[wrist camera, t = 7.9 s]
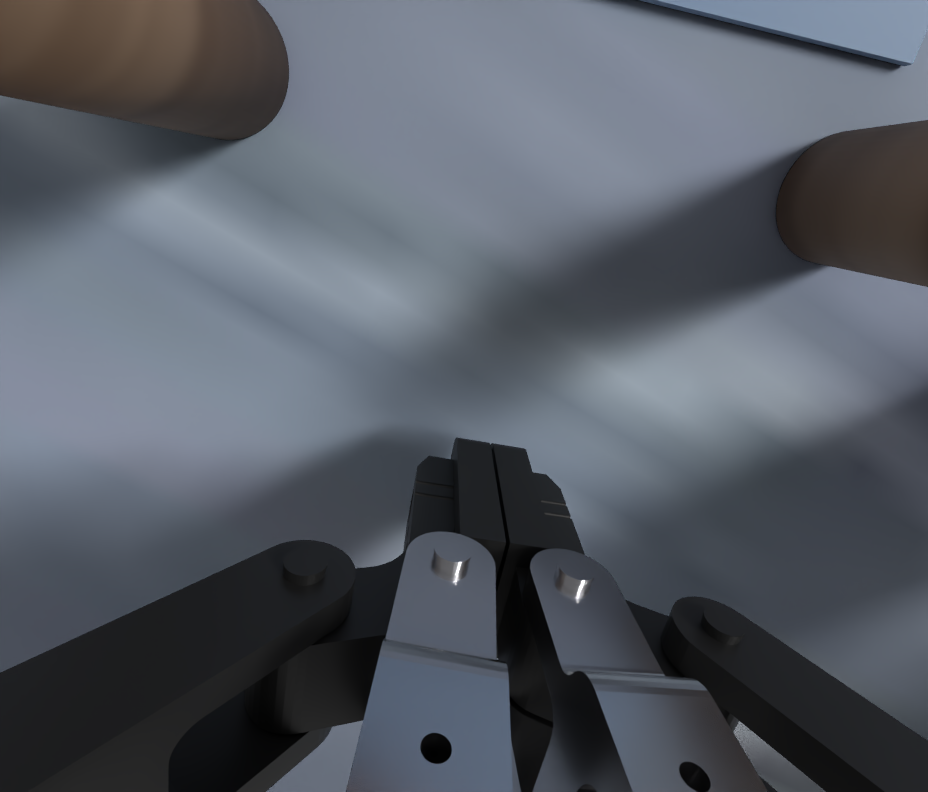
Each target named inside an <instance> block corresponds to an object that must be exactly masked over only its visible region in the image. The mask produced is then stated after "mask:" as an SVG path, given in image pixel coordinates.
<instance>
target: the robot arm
mask: <svg viewBox="0 0 928 792" xmlns="http://www.w3.org/2000/svg"><path fill="white" fill-rule="evenodd" d="M497 658H498V659H499V660H497ZM361 720H363V724H362V728H361V732H360V736H359V740H358V744H357V749H356V753H355V757H354V761H353V765H352V769H351V773H350V777H349V781H348V785H347V790H346V792H777V791H776V790H775V789H774V788H772V787H771V786H770V785H769V784H768V783H767V782H766V781H764V780H763V779H762V778H761V777H760V776H759V775H758V774H757V772H756V770H755V769H754V767H753V765H752V764H751V762H750V760H749V759H748V757H747V755H746V753H745V752H744V750H743V748H742V747H741V745H740V743H739V742H738V740H737V738H736V737H735V735H734V733H733V731H734V729H735V727H736V725H737V724H738V722H739V721H740V722H742V723H743V724H744V725H745V726H747V727H748V728H749V729H750V730H751V731H753V732H754V733H755V734H756V735H758V736H759V737H760V738H761V739H762V740H764V741H765V742H766V743H767V744H769V745H770V746H771V747H772V748H774V749H775V750H776V751H777V752H778V753H780V754H781V755H782V756H783V757H785V758H786V759H787V760H788V761H789V762H791V763H792V764H793V765H794V766H796V767H797V768H798V769H799V770H800V771H802V772H803V773H804V774H805V775H807V776H808V777H809V778H810V779H811V780H813V781H814V782H815V783H816V784H818V785H819V786H820V787H821V788H823V789H824V790H825V791H826V792H928V741H927V740H926V739H924V738H923V737H921V736H920V735H918V734H917V733H915V732H914V731H912V730H911V729H909V728H908V727H906V726H905V725H903V724H902V723H901V722H899V721H898V720H896V719H895V718H893V717H892V716H890V715H889V714H887V713H886V712H884V711H883V710H881V709H880V708H878V707H877V706H875V705H874V704H873V703H871V702H870V701H868V700H867V699H865V698H864V697H862V696H861V695H859V694H858V693H856V692H855V691H853V690H852V689H850V688H849V687H847V686H846V685H844V684H843V683H842V682H840V681H839V680H837V679H836V678H834V677H833V676H831V675H830V674H828V673H827V672H825V671H824V670H822V669H821V668H819V667H818V666H816V665H815V664H814V663H812V662H811V661H809V660H808V659H806V658H805V657H803V656H802V655H800V654H799V653H797V652H796V651H794V650H793V649H791V648H790V647H788V646H787V645H786V644H784V643H783V642H781V641H780V640H778V639H777V638H775V637H774V636H772V635H771V634H769V633H768V632H766V631H765V630H763V629H762V628H760V627H759V626H758V625H756V624H755V623H753V622H752V621H750V620H749V619H747V618H746V617H744V616H743V615H741V614H740V613H738V612H737V611H735V610H733V609H732V608H730V607H728V606H726V605H724V604H721V603H719V602H717V601H713V600H710V599H707V598H702V597H685V598H682V599H679V600H678V601H677V602H675V604H674V606H673V608H672V610H671V612H670V615H669V617H668V616H666V615H663V614H660V613H658V612H655V611H652V610H649V609H647V608H644V607H641V606H639V605H636V604H634V603H631V602H629V601H627V600H625V599H624V597H623V595H622V593H621V591H620V589H619V587H618V585H617V583H616V581H615V580H614V578H613V577H612V575H611V574H610V573H609V572H608V570H607V569H605V568H604V567H603V566H602V565H601V564H599V563H598V562H597V561H595V560H593V559H592V558H590V557H588V556H586V555H585V554H584V551H583V549H582V546H581V543H580V540H579V538H578V535H577V532H576V530H575V527H574V524H573V521H572V519H570V513H569V511H568V508H567V506H566V502H565V500H564V497H563V494H562V492H561V489H560V488H559V487H558V486H557V485H556V484H555V483H554V482H553V481H552V480H551V479H550V478H549V477H548V476H547V475H546V474H539V473H533V472H532V469H531V465H530V462H529V459H528V455H527V452H526V449H524V448H518V447H512V446H506V445H500V444H493V443H492V444H491V445H490V443H487V442H481V441H475V440H469V439H462V438H456V439H455V442H454V446H453V450H452V455H451V459H445V458H439V457H433V456H428V457H427V458H426V459H425V460H424V461H423V462H422V463H421V464H420V465H419V466H418V467H417V473H416V478H415V483H414V489H413V494H412V500H411V505H410V510H409V516H408V521H407V527H406V534H405V542H404V551H403V554H401V555H400V556H399V557H398V558H396V559H394V560H393V561H391V562H388V563H386V564H383V565H379V566H374V567H367V568H356V569H355V566H354V564H353V562H352V560H351V559H350V557H349V556H348V555H347V554H346V553H344V552H343V551H342V550H340V549H339V548H337V547H335V546H332V545H330V544H327V543H324V542H319V541H311V540H297V541H290V542H286V543H282V544H279V545H277V546H274V547H272V548H270V549H267V550H265V551H263V552H261V553H259V554H257V555H254V556H252V557H250V558H248V559H246V560H244V561H241V562H239V563H237V564H235V565H233V566H231V567H228V568H226V569H224V570H222V571H220V572H218V573H215V574H213V575H211V576H209V577H207V578H205V579H202V580H200V581H198V582H196V583H194V584H192V585H190V586H187V587H185V588H183V589H181V590H179V591H177V592H174V593H172V594H170V595H168V596H166V597H164V598H161V599H159V600H157V601H155V602H153V603H151V604H148V605H146V606H144V607H142V608H140V609H138V610H135V611H133V612H131V613H129V614H127V615H125V616H122V617H120V618H118V619H116V620H114V621H112V622H109V623H107V624H105V625H103V626H101V627H99V628H96V629H94V630H92V631H90V632H88V633H86V634H83V635H81V636H79V637H77V638H75V639H73V640H70V641H68V642H66V643H64V644H62V645H60V646H57V647H55V648H53V649H51V650H49V651H47V652H44V653H42V654H40V655H38V656H36V657H34V658H31V659H29V660H27V661H25V662H23V663H21V664H18V665H16V666H14V667H12V668H10V669H8V670H5V671H3V672H1V673H0V792H266V791H267V790H268V789H269V788H270V787H272V786H273V785H274V784H275V783H276V782H277V781H278V780H280V779H281V778H282V777H283V776H284V775H285V774H287V773H288V772H289V771H290V770H291V769H292V768H294V767H295V766H296V765H297V764H298V763H299V762H301V761H302V760H303V759H304V758H305V757H306V756H307V755H309V754H310V753H311V752H312V751H313V750H314V749H316V748H317V747H318V746H319V745H320V744H321V743H322V742H323V741H324V740H325V738H326V737H327V735H328V734H329V732H330V730H331V728H332V727H333V726H337V725H342V724H347V723H352V722H357V721H361Z"/></svg>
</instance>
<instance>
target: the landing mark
mask: <svg viewBox="0 0 928 792" xmlns="http://www.w3.org/2000/svg"><path fill="white" fill-rule="evenodd" d="M640 1H644V2H648V3H652V4H656V5H660V6H664V7H668V8H672V9H676V10H680V11H684V12H688V13H692V14H696V15H700V16H704V17H708V18H712V19H716V20H720V21H725V22H729V23H733V24H737V25H741V26H745V27H749V28H753V29H757V30H761V31H765V32H769V33H773V34H777V35H781V36H785V37H789V38H793V39H797V40H801V41H805V42H809V43H813V44H817V45H821V46H825V47H829V48H833V49H837V50H842V51H846V52H850V53H854V54H858V55H862V56H866V57H870V58H874V59H878V60H882V61H886V62H890V63H894V64H898V65H902V66H907V65H911V64H913V63H914V60H915V58H916V55H917V53H918V51H919V48H920V46H921V44H922V41H923V39H924V36H925V34H926V32H927V29H928V0H640Z"/></svg>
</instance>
